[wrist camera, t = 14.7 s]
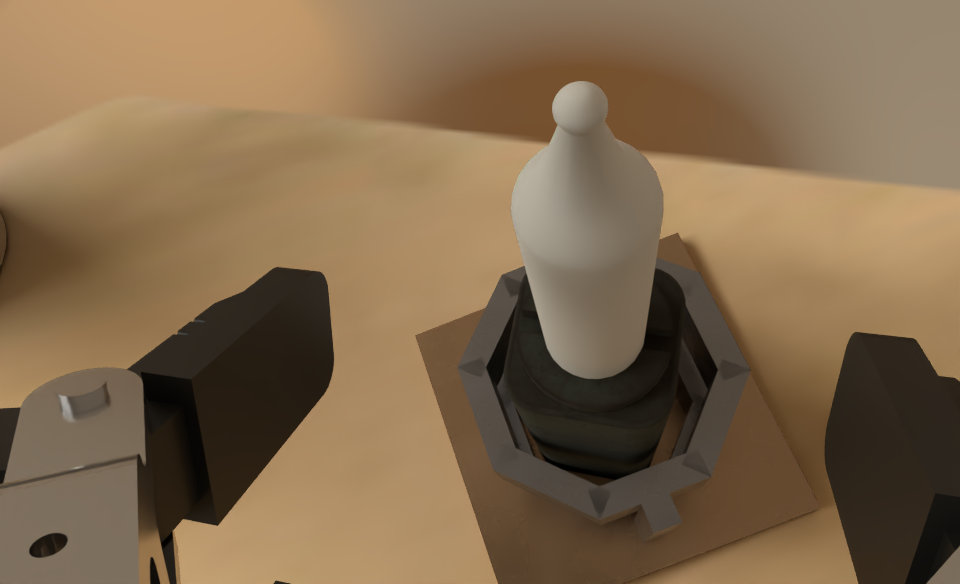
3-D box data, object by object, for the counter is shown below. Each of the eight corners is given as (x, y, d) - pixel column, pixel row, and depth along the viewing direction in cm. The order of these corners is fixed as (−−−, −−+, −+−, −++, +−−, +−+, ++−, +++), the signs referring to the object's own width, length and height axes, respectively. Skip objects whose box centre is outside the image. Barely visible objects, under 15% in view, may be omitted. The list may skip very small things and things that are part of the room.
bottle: (553, 358, 35) (451, -48, 12) (662, 374, 34) (772, -37, 11) (535, 464, 34) (377, 227, 11) (648, 486, 33) (744, 271, 10)
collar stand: (514, 624, 32) (481, 641, 24) (419, 340, 38) (365, 273, 29) (816, 509, 32) (889, 486, 24) (676, 239, 37) (695, 143, 29)
